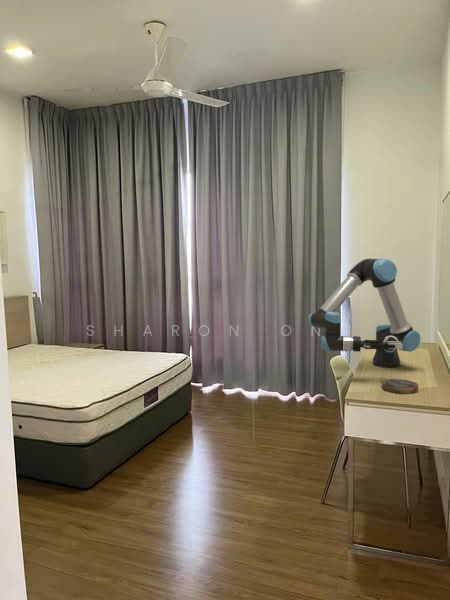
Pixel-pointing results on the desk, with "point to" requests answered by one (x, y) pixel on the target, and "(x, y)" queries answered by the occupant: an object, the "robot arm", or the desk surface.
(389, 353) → the watch
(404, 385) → the plinth
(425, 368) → the desk surface
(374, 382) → the desk surface
